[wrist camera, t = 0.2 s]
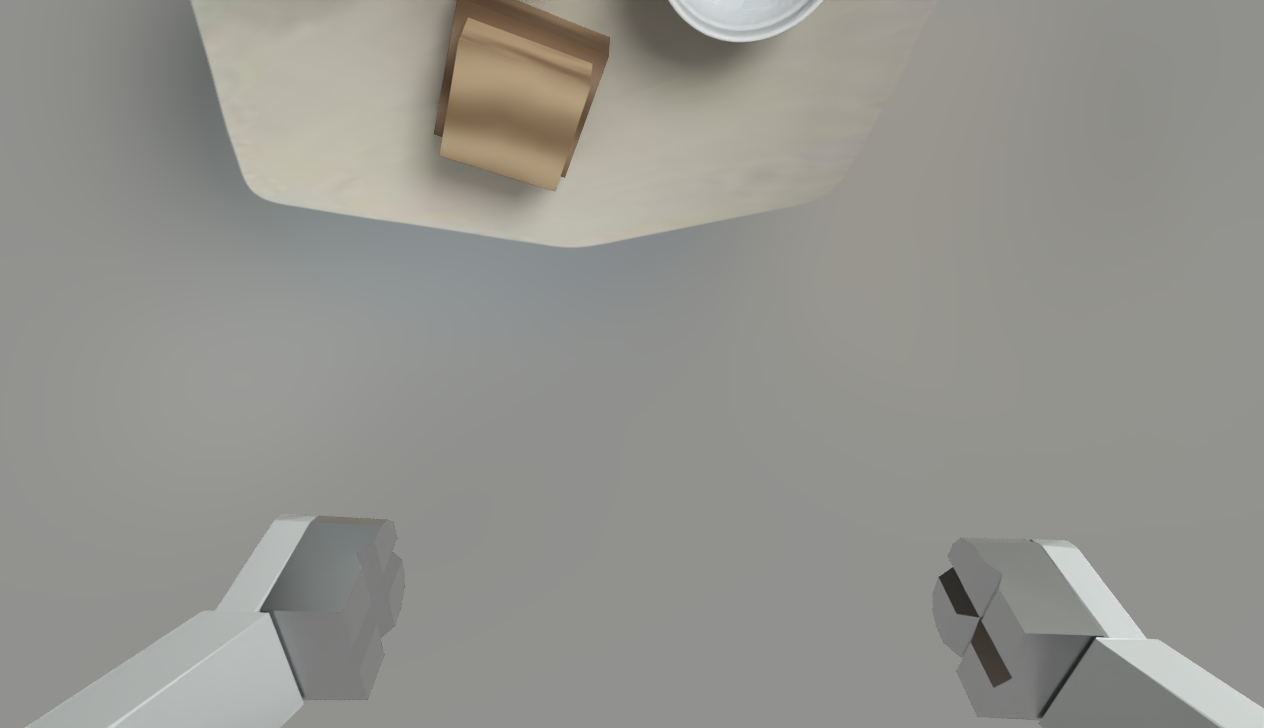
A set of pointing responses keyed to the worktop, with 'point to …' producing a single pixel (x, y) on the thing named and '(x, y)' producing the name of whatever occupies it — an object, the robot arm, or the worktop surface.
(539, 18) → the tower base
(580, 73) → the tower top
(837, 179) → the worktop surface
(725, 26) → the ramekin
